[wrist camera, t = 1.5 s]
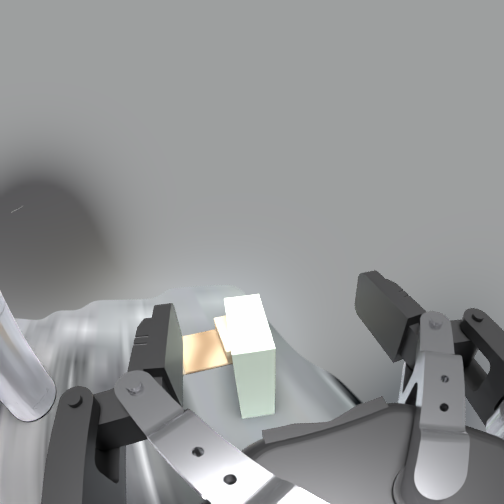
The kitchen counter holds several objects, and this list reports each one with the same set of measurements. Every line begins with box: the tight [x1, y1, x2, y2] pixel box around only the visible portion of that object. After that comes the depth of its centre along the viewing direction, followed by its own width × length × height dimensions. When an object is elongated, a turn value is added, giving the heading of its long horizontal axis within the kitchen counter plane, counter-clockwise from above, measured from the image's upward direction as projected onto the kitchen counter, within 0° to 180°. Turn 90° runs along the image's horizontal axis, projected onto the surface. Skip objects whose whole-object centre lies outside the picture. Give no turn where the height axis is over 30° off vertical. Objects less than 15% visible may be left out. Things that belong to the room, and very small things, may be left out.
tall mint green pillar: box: [224, 294, 276, 419], centre depth 28 cm, size 4×8×11 cm, turn 9°
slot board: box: [182, 316, 233, 375], centre depth 36 cm, size 14×7×2 cm, turn 109°
